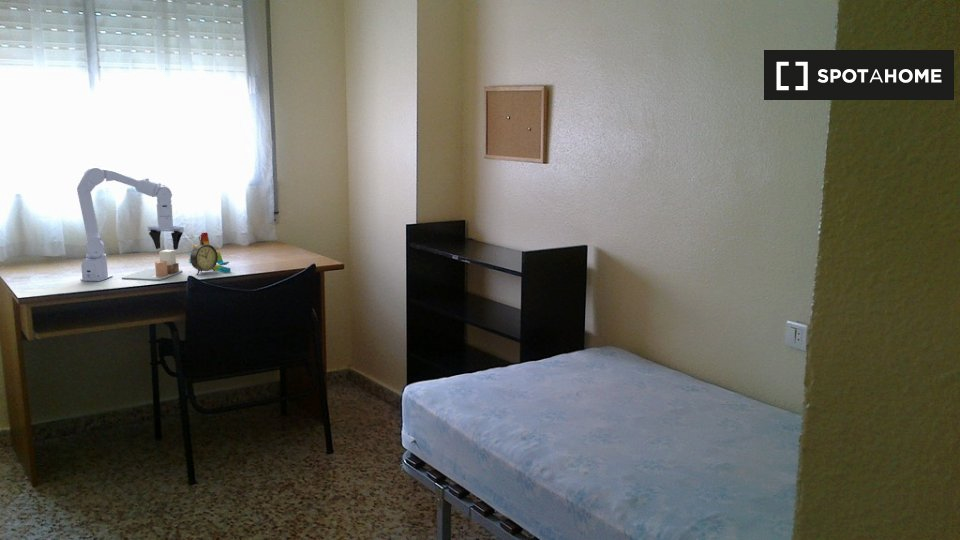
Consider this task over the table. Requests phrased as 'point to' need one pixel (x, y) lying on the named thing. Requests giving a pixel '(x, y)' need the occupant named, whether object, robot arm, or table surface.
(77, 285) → the table surface
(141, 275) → the building board
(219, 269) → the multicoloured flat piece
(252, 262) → the table surface
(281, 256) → the table surface
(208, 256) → the alarm clock
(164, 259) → the cream block
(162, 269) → the terracotta round block
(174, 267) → the walnut base block
